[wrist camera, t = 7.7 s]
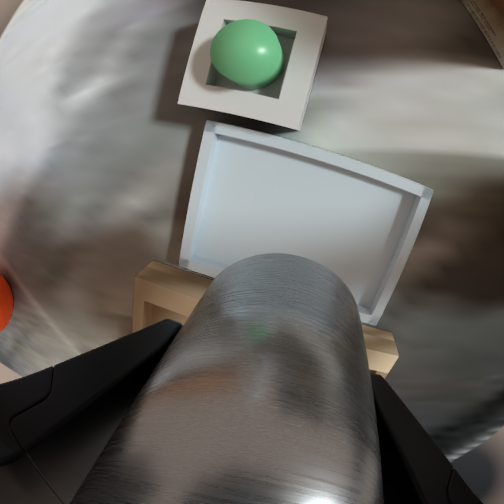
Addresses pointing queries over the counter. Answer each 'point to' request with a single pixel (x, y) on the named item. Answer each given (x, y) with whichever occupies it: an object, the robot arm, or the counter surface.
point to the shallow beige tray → (192, 289)
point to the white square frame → (269, 97)
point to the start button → (247, 53)
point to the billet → (253, 400)
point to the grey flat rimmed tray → (301, 211)
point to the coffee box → (489, 22)
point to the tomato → (5, 303)
